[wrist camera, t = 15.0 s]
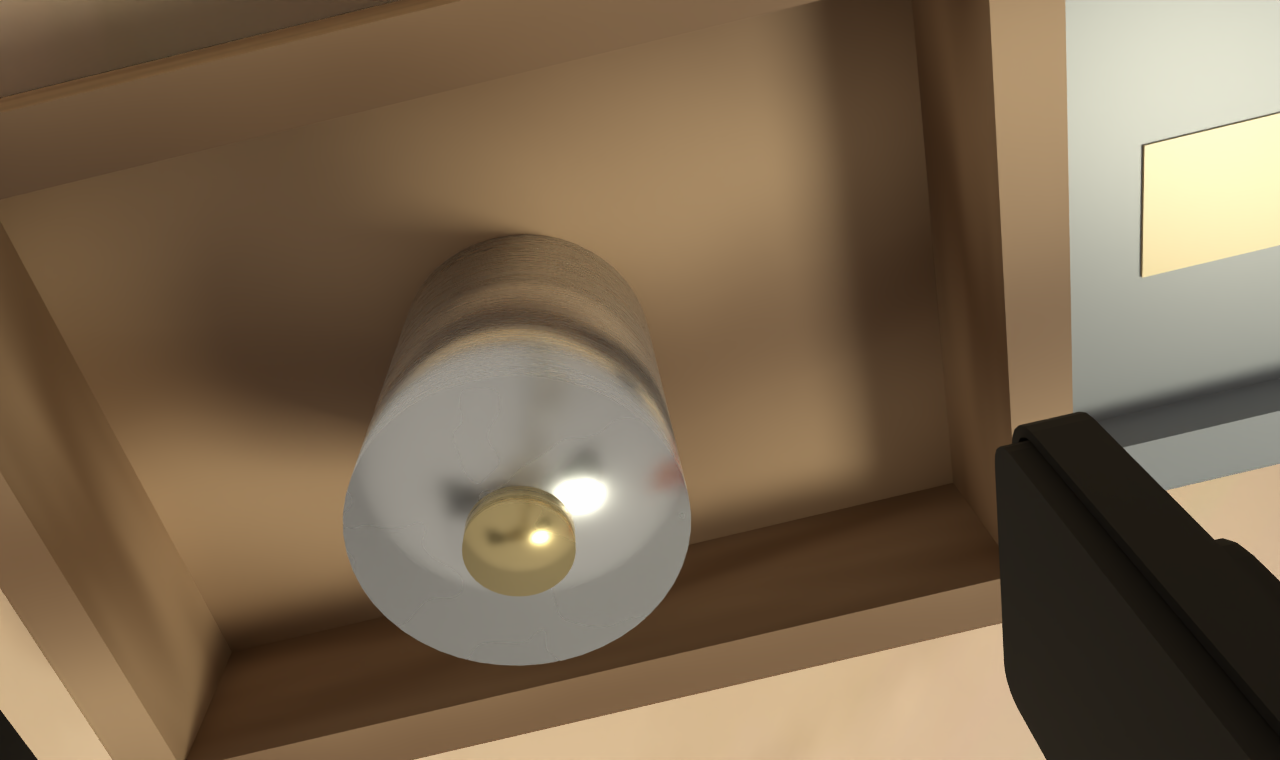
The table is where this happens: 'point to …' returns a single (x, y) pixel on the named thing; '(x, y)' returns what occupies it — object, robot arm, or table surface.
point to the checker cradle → (1176, 230)
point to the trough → (499, 206)
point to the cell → (519, 461)
